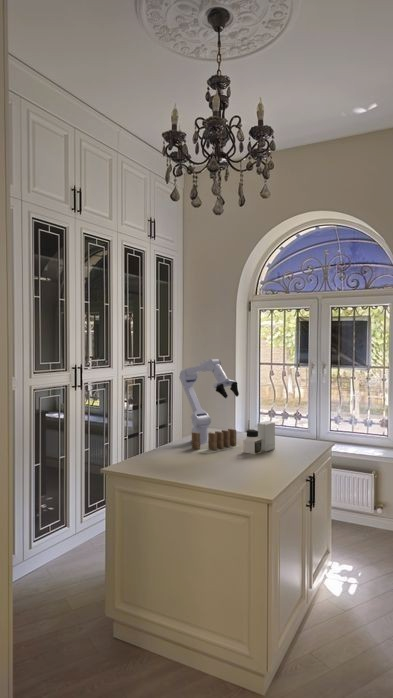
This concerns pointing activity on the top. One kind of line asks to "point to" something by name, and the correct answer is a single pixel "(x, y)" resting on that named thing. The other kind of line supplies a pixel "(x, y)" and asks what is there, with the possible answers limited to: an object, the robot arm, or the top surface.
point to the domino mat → (215, 451)
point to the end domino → (195, 440)
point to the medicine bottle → (252, 442)
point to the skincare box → (267, 435)
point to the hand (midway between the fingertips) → (232, 396)
